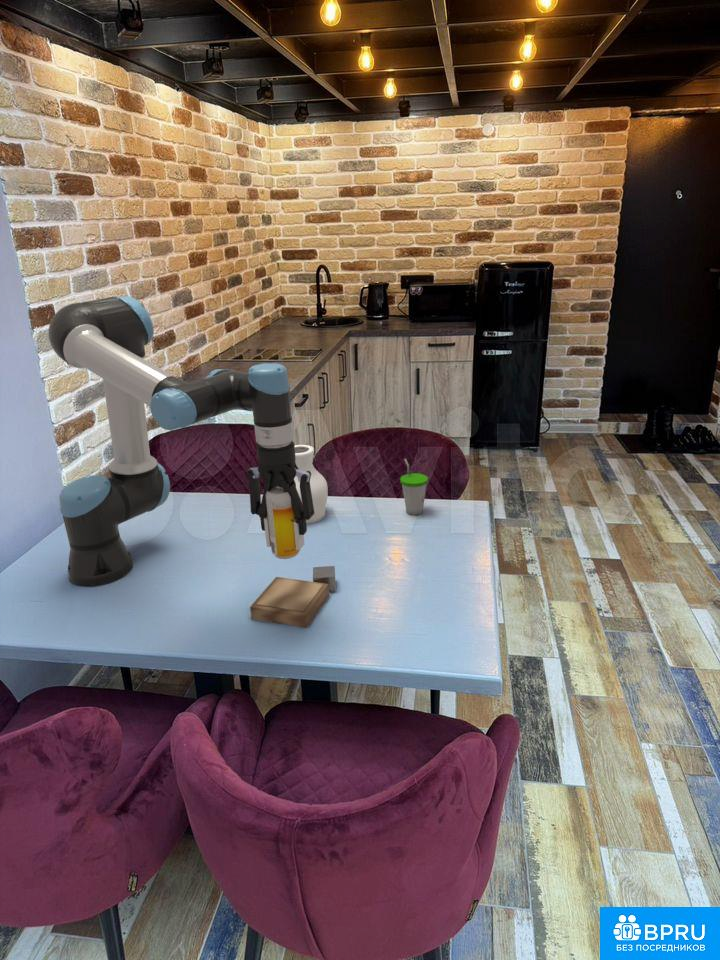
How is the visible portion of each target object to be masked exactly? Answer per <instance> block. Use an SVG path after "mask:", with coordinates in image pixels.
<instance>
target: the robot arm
mask: <svg viewBox="0 0 720 960" xmlns="http://www.w3.org/2000/svg"><path fill="white" fill-rule="evenodd" d="M154 332H155V331H154V324H153V320H152V318H151V316H150V313H149V312H148V310H147V309H146V308H145V306H144V305H143V304H142V303H141V302H140V301H139V300H138V299H137V298H135V297H132V296H128V295H125V296H110V297H105V298H99V299H94V300H89V301H81V302H74V303H71V304H68V305H65V306H63V307H61V308H60V309H59V310H58V311H57V312H56V313H55V314H54V315H53V316H52V318H51V320H50V323H49V326H48V340H49V343H50V346H51V348H52V350H53V351H54V352H55V354H56V355H57V356H58V357H59V358H60V359H61V360H62V361H63V362H65V363H66V364H68V365H69V366H72V367H74V368H77V369H86V370H88V371H90V372H91V373H93V374H94V375H97V376H98V377H100V378H102V383H103V389H104V397H105V403H106V409H107V411H106V412H107V416H108V417H107V418H108V426H109V432H110V438H111V446H112V453H113V459H112V461H111V462H109V464H108V471H109V476H108V477H106V476H104V475H101V474H94V475H90V476H87V477H86V476H84V477H80V478H77V479H75V480H73V481H71V482H70V483H68V484H67V485H66V486H65V487H63V488H62V490H61V491H60V493H59V505H60V508H59V509H60V513H61V515H62V519H63V523H64V527H65V531H66V535H67V539H68V544H69V548H70V549H69V556H68V565H67V574H68V578H69V581H70V582H71V583H73V584H75V585H78V586H82V587H83V586H84V587H95V586H100V585H101V586H102V585H105V584H110V583H112V582H116V581H117V580H120V579H121V578H123V577H124V576H127V574H129V573H130V572H131V571H132V569H133V568H134V562H133V556H132V553H130V551H129V550H128V549H127V546H126V545H125V543H124V541H123V540H122V538H121V535H120V530H119V525H120V524H123V523H125V522H127V521H130V520H131V519H135V518H136V517H138V516H140V515H143V514H145V513H147V512H148V513H149V512H152V511H154V510H156V508H157V509H158V507H160V506H162V505H163V504H165V502H166V501H167V500H168V498H169V496H170V491H171V485H170V484H171V483H170V479H169V478H170V477H169V475H168V474H166V472H167V471H166V469H165V468H164V467H163V466H162V464H160V463H159V462H158V460H157V459H156V458H155V457H154V456H152V455H151V453H150V452H151V450H150V443H149V442H150V441H149V434H148V426H147V425H148V424H147V418H146V417H147V416H146V415H147V414H146V408H145V405H147V406H148V407H149V408H150V409H149V410H150V413H151V416H152V418H153V420H154V421H155V422H157V425H158V426H159V427H160V428H161V429H164V430H165V431H166V430H167V431H174V430H178V429H184V428H187V427H190V426H192V425H194V424H197V423H199V422H202V421H205V420H207V419H211V418H214V417H216V416H220V415H222V414H226V413H228V412H231V411H235V410H241V411H247V412H252V418H253V426H254V435H255V442H256V443H257V445H256V453H257V460H258V466H257V467H256V466H251V467H250V468H249V469H247V471H246V473H245V475H246V477H247V479H248V482H249V483H248V484H249V485H248V487H249V502H250V503H249V504H250V514H252V515H257V516H258V517H259V518H260V525H261V526H260V527H261V530H262V531H264V532H265V533H264V535H265V540H266V547H267V548H268V547H269V548H270V547H271V540H270V531H269V522H268V513H267V504H266V493H267V491H268V492H269V491H270V490H271V489H272V488H273V487H276V486H278V487H281V488H283V490H284V492H285V493H286V492H288V494H289V495H290V497H291V507H292V509H293V512H294V514H295V517H296V520H295V521H294V522H293V523H294V533H295V543H296V550H300V551H301V549H302V548H303V547H304V546H305V534H306V533H307V531H308V529H307V527H308V526H307V525H308V524H306V520H309V519H310V518H311V517H312V516H313V515H314V507H313V500H312V494H311V487H310V478H311V472H310V471H306V472H303V471H301V470H298V467H297V465H296V463H295V459H296V457H295V442H294V441H293V440H294V439H295V436H294V429H293V428H294V427H293V417H292V416H293V415H292V406H291V385H290V382H289V375H288V369H287V368H286V366H285V365H283V364H281V363H273V362H272V363H270V362H269V363H267V362H265V363H260V364H254V365H253V366H251V367H250V368H249V369H248V372H245V371H239V370H234V369H230V368H225V369H222V368H221V369H220V368H219V369H213V370H212V371H210V372H209V374H207V376H206V377H205V378H202V379H199V380H195V381H192V382H186V381H184V380H182V379H180V378H178V377H176V376H175V375H173V374H171V373H169V372H167V371H166V370H164V369H162V368H160V367H159V366H157V365H155V364H153V363H152V362H150V361H148V360H146V359H145V357H146V351H145V350H146V348H145V346H147V345H149V344H150V343H151V342H152V339H153V337H154ZM260 476H261V477H262V478H263V480H264V484H263V493H262V496H261V478H260ZM295 476H297V477H298V482H300V492H301V498H302V502H301V499H300V497H299V494H298V492H297V489H296V483H295V481H294V478H295ZM261 497H262V498H261Z"/></svg>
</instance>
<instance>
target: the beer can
mask: <svg viewBox="0 0 720 960" xmlns="http://www.w3.org/2000/svg"><path fill="white" fill-rule="evenodd" d="M266 504H267V513H268V522H269V531H270V540H271V554H272V555H274V556H275V558H277V559H279V560H289V559H293V558H295V557H297V556H298V554H299V553H300V551H301V549H300V550H296V543H295V533H294V523H293V522H294V521H295V520H296V517H295V514H294V512H293V509H292V507H291V497H290V495H289V494H288V492H286V493H285V492H284V490H283V488H281V487H278V486H276V487H273V488H272V489H271V490H270V491H269V492H268V491H267V493H266Z"/></svg>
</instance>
